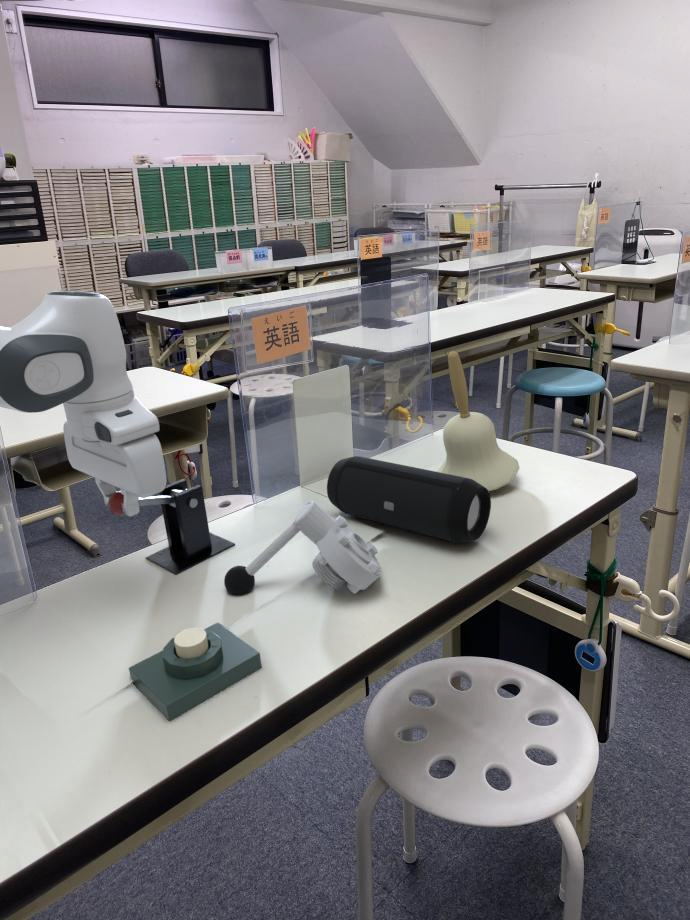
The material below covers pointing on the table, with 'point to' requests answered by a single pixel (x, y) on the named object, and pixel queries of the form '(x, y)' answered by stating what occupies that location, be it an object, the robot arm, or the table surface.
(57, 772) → the table surface
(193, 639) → the button
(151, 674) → the control block
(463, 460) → the handbell
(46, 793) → the table surface
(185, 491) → the bracket
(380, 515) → the portable speaker
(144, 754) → the table surface
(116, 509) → the lever
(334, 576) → the mechanical valve
